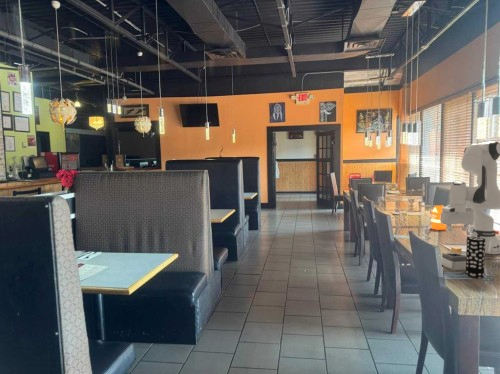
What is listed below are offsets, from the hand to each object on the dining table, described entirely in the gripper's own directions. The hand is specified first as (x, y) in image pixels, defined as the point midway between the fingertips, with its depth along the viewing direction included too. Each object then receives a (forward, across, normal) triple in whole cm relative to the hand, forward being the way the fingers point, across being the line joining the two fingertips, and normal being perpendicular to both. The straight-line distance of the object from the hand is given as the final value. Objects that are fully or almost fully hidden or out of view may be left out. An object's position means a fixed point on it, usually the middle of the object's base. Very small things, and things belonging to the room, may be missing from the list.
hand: (456, 231), depth 228 cm
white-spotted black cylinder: (+18, +12, +30) cm, 37 cm away
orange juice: (+17, -49, -86) cm, 101 cm away
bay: (+18, +8, +13) cm, 23 cm away
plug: (+18, 0, 0) cm, 18 cm away
